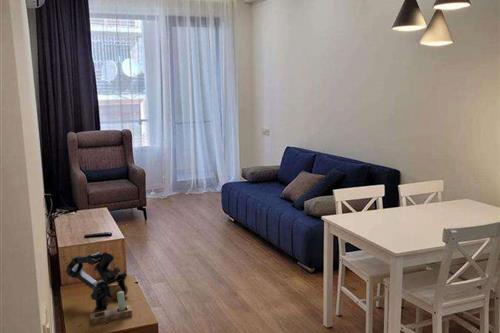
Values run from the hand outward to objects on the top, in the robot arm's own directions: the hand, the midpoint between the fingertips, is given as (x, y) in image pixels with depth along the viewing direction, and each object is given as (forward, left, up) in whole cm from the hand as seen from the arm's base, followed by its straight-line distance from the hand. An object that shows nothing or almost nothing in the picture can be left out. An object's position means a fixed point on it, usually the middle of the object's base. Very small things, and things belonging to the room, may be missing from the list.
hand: (118, 294), depth 252 cm
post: (+1, +1, -11) cm, 11 cm away
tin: (-24, -7, -12) cm, 27 cm away
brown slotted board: (+3, -4, -11) cm, 12 cm away
